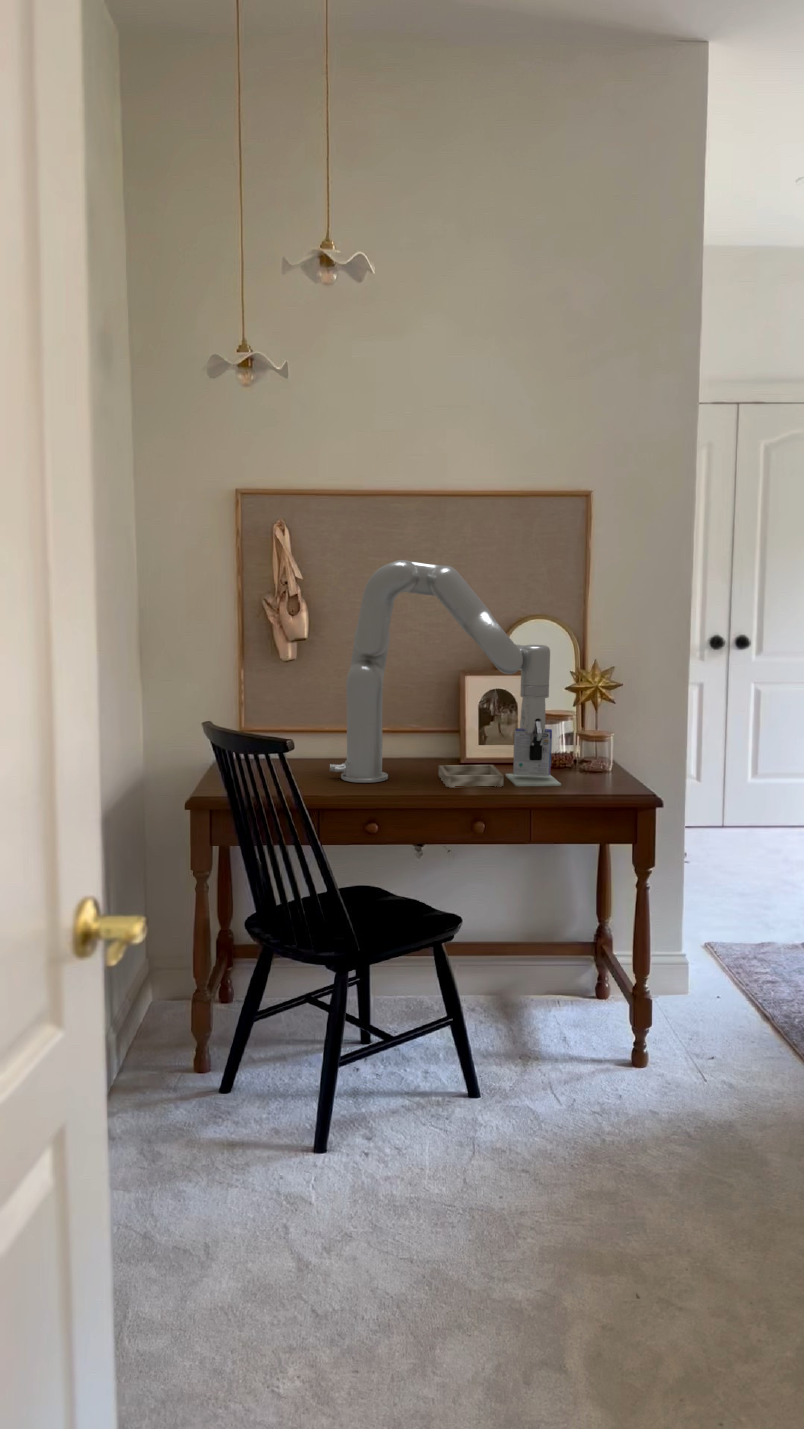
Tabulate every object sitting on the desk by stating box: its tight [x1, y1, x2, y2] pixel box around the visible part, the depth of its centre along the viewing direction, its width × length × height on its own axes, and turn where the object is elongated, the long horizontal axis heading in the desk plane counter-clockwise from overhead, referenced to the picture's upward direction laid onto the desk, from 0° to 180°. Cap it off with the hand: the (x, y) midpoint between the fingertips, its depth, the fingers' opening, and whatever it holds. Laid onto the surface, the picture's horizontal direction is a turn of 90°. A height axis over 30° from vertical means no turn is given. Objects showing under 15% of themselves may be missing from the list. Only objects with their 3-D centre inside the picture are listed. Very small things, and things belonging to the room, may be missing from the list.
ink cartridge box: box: [512, 727, 553, 776], centre depth 294 cm, size 10×6×14 cm, turn 79°
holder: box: [438, 764, 504, 788], centre depth 293 cm, size 15×15×3 cm
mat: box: [505, 773, 562, 787], centre depth 295 cm, size 12×14×1 cm
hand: (532, 757), depth 294 cm, fingers closed on ink cartridge box, 6 cm apart
